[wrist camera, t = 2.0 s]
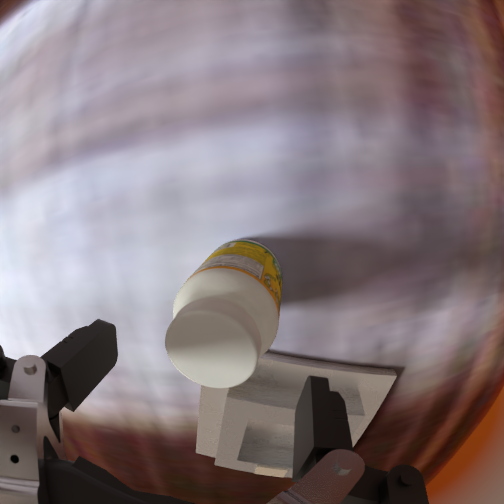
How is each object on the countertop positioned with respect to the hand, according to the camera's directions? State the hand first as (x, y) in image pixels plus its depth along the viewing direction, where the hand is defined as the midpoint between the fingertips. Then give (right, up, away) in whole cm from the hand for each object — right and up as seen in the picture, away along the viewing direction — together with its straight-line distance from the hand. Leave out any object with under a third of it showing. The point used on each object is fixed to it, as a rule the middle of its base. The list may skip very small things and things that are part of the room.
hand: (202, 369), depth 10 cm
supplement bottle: (+1, +3, +10) cm, 11 cm away
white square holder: (+5, -12, +13) cm, 18 cm away
